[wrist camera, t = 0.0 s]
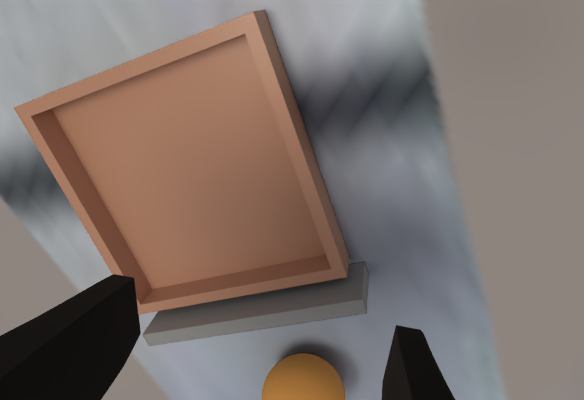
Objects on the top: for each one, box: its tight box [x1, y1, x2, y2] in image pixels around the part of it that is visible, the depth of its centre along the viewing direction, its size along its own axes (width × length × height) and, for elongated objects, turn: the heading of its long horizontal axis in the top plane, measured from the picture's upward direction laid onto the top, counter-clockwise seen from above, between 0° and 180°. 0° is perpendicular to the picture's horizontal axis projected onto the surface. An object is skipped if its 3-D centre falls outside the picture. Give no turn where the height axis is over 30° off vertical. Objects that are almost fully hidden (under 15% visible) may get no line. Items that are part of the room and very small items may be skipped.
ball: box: [262, 353, 345, 400], centre depth 24 cm, size 5×5×5 cm
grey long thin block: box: [143, 262, 369, 346], centre depth 23 cm, size 1×12×3 cm, turn 110°
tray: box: [14, 10, 350, 315], centre depth 21 cm, size 12×12×2 cm
